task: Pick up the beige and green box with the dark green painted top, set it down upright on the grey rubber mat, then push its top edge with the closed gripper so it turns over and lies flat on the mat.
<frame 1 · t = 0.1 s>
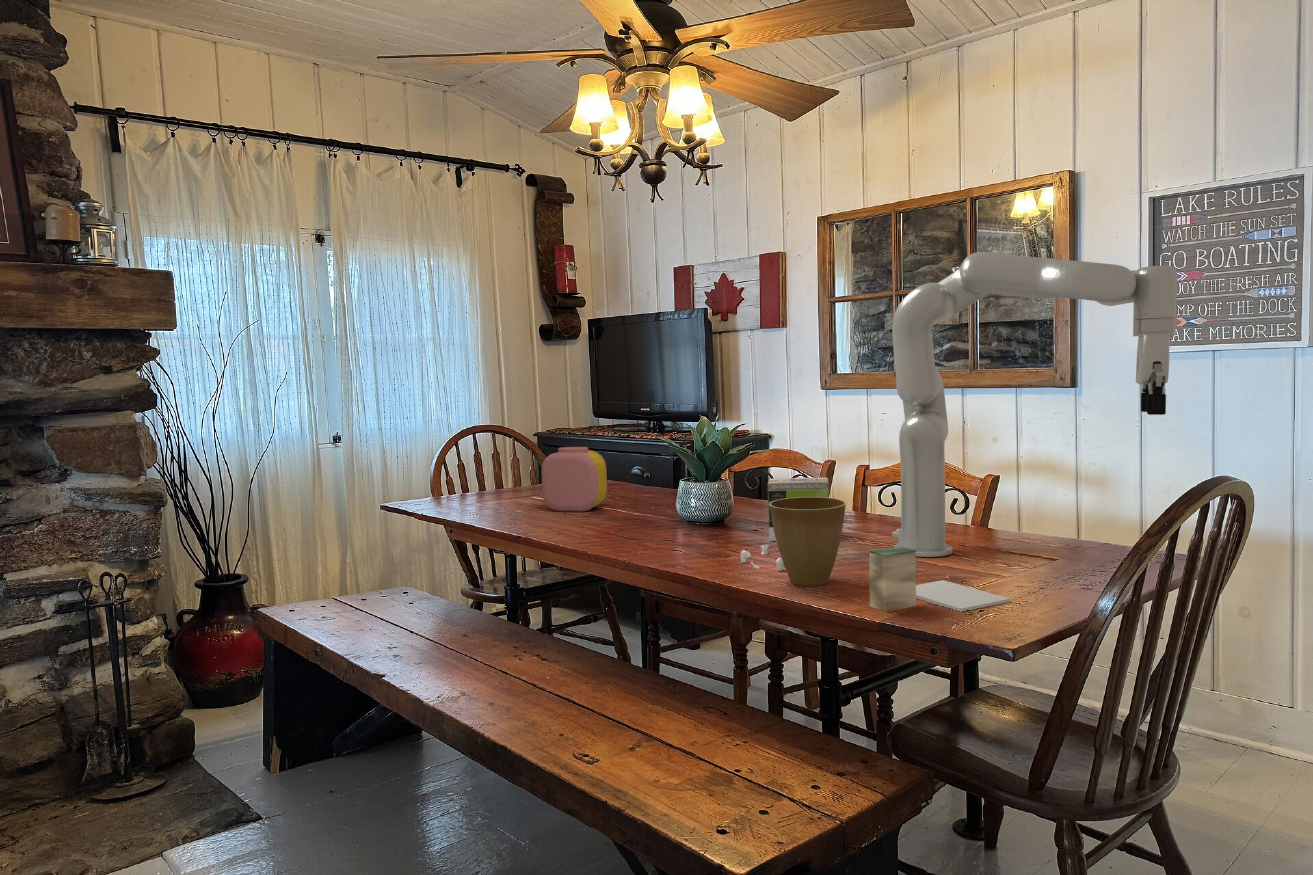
hand: (1152, 413, 176), 31 cm above the table, tool pointing down, fingers open, 9 cm apart
game piece set: (784, 563, 191), on the table
beige and green box: (892, 606, 153), on the table
rubber mat: (951, 596, 158), on the table
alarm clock: (575, 510, 270), on the table
plant pot: (808, 582, 172), on the table
tea box: (799, 538, 216), on the table
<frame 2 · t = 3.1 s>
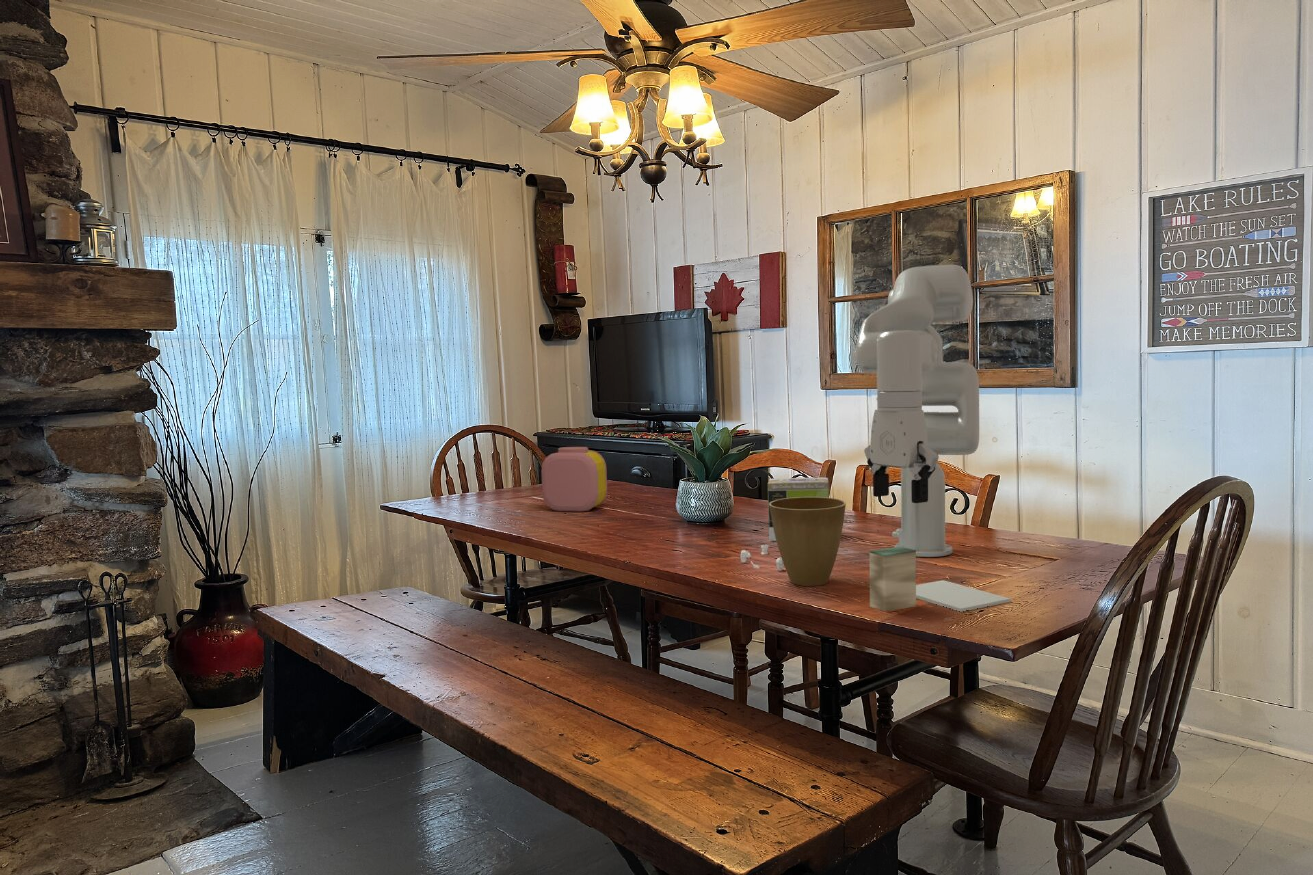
hand: (899, 499, 152), 19 cm above the table, tool pointing down, fingers open, 9 cm apart
nothing on the table moved.
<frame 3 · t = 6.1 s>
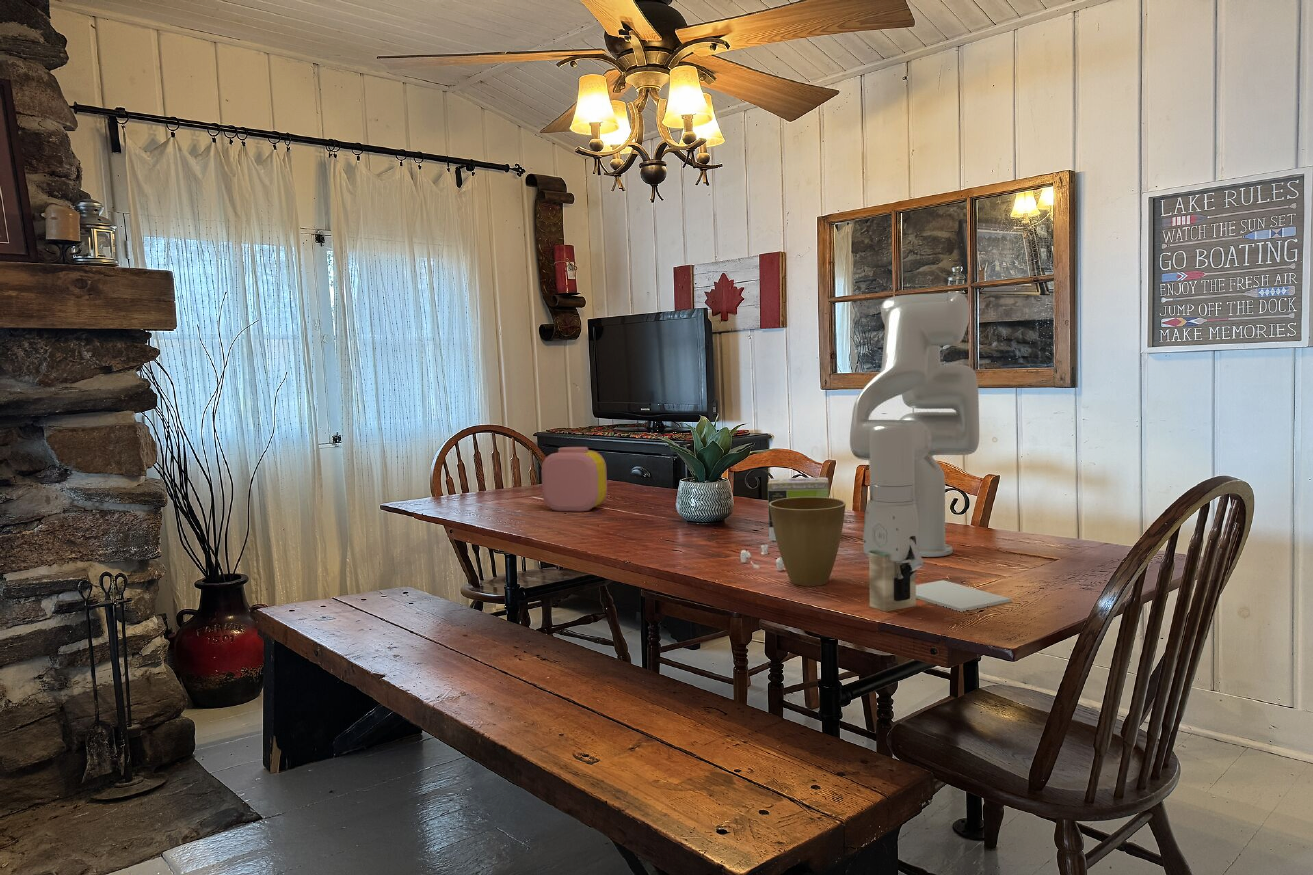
hand: (892, 595, 153), 2 cm above the table, tool pointing down, fingers closed on beige and green box, 4 cm apart
beige and green box: (892, 606, 153), on the table, touching gripper
everything else where it was.
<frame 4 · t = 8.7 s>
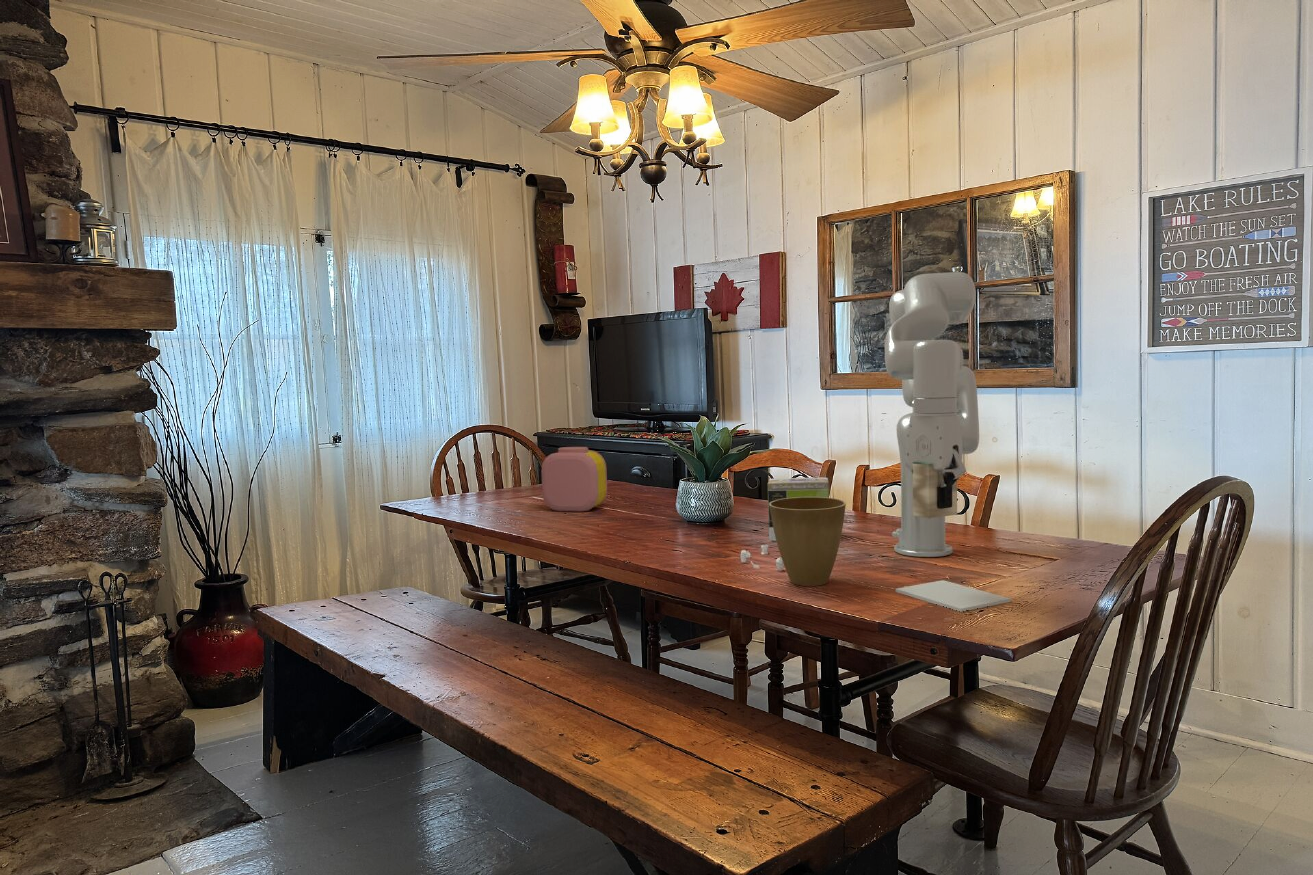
hand: (935, 505, 160), 16 cm above the table, tool pointing down, fingers closed on beige and green box, 4 cm apart
beige and green box: (935, 515, 161), point 15 cm above the table, touching gripper
everything else where it was.
when the fingers open (3 cm above the table, at t = 11.7 s): beige and green box stays where it is, resting on rubber mat.
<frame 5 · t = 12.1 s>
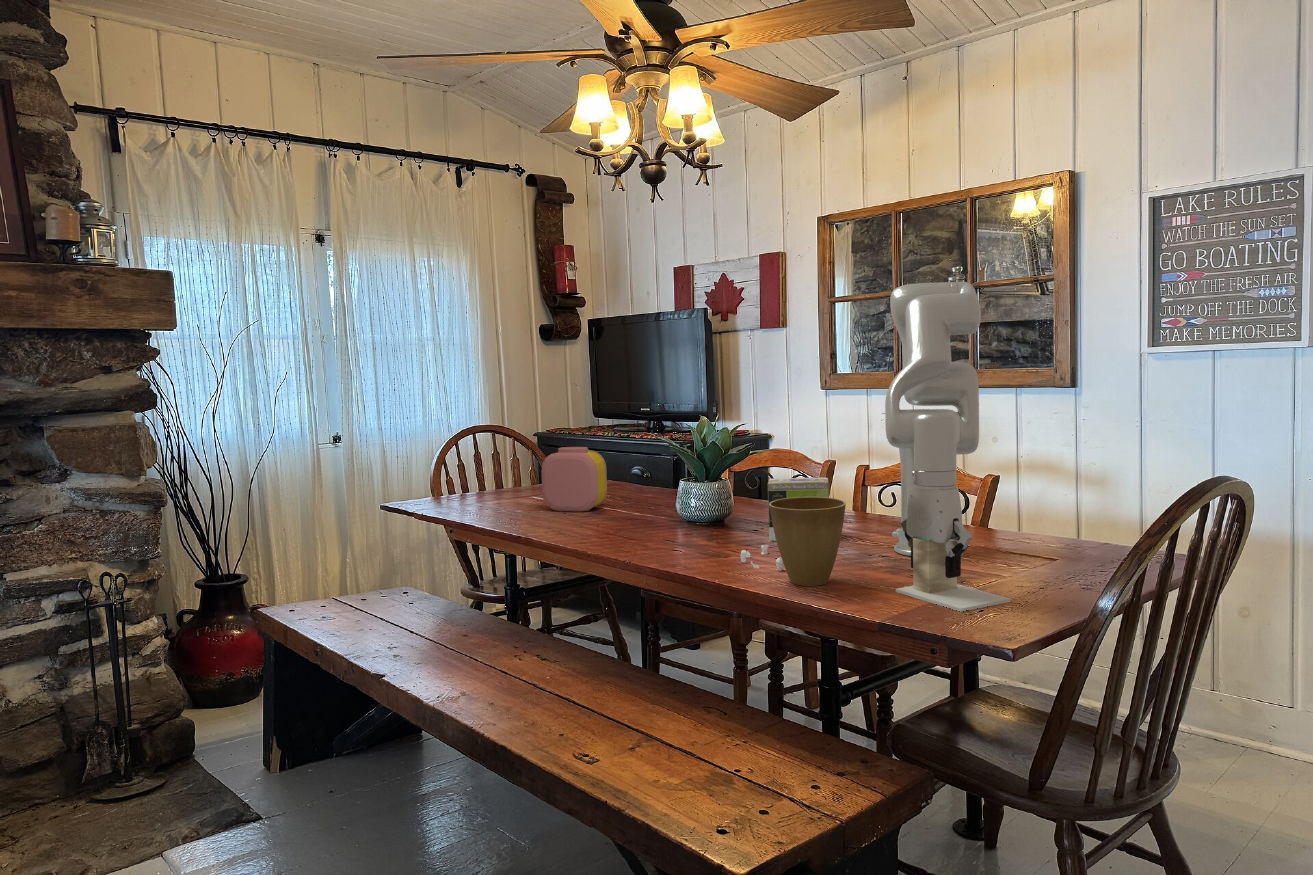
hand: (935, 571, 161), 4 cm above the table, tool pointing down, fingers open, 8 cm apart
beige and green box: (935, 588, 162), point 1 cm above the table, touching rubber mat
everything else where it was.
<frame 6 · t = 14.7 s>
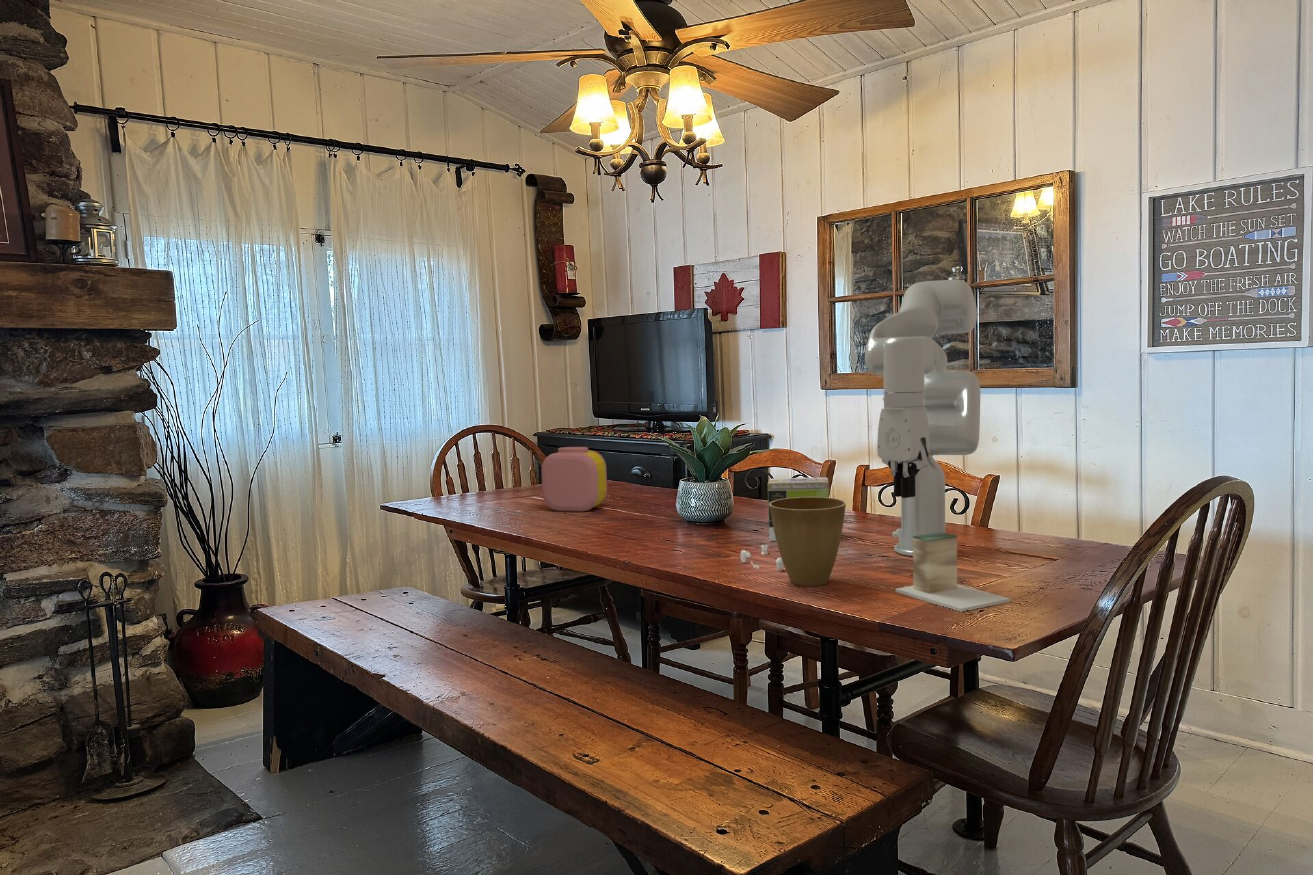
hand: (904, 496, 168), 17 cm above the table, tool pointing down, fingers closed
nothing on the table moved.
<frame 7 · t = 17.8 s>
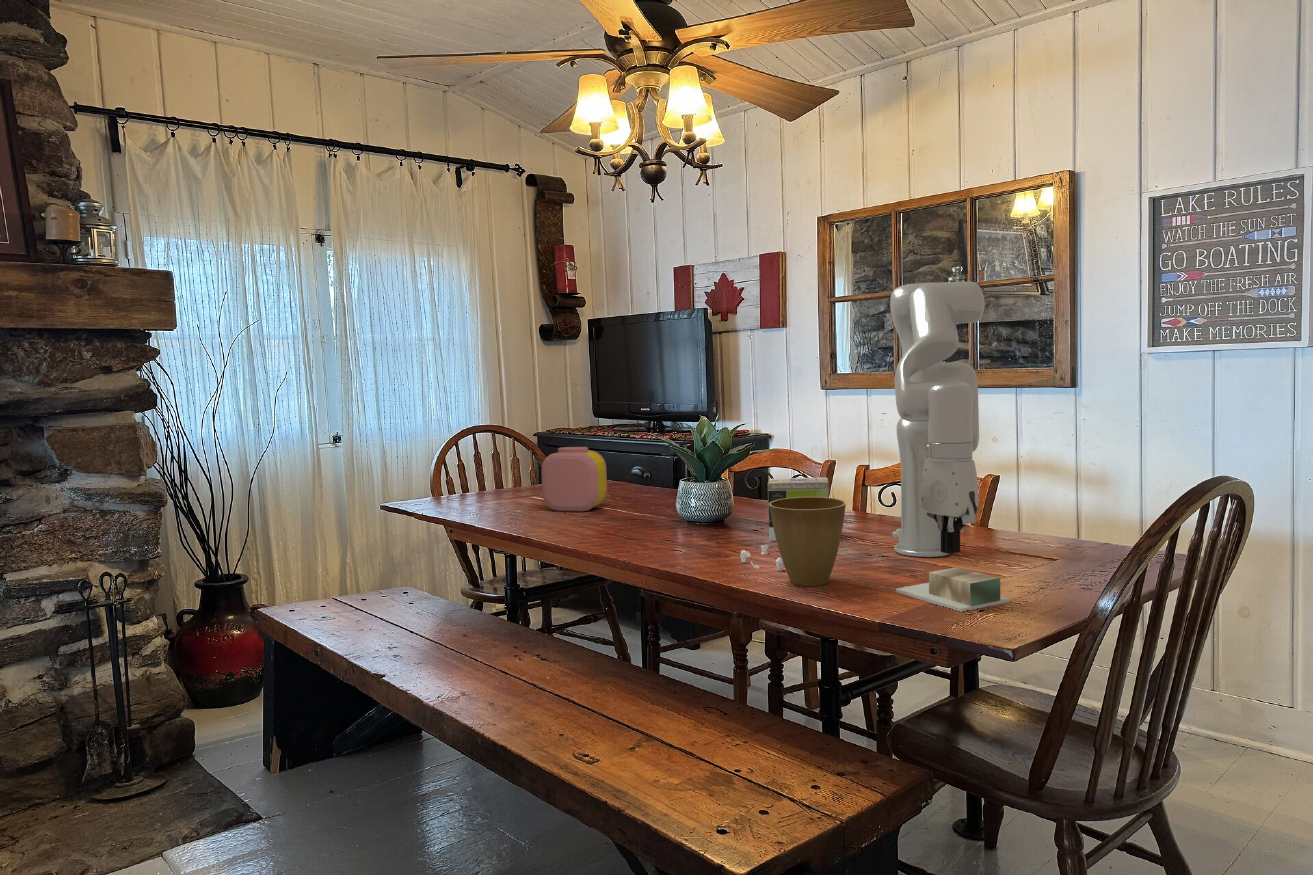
hand: (950, 552, 158), 8 cm above the table, tool pointing down, fingers closed
beige and green box: (943, 580, 160), point 3 cm above the table, tilted 90°, touching rubber mat
everything else where it was.
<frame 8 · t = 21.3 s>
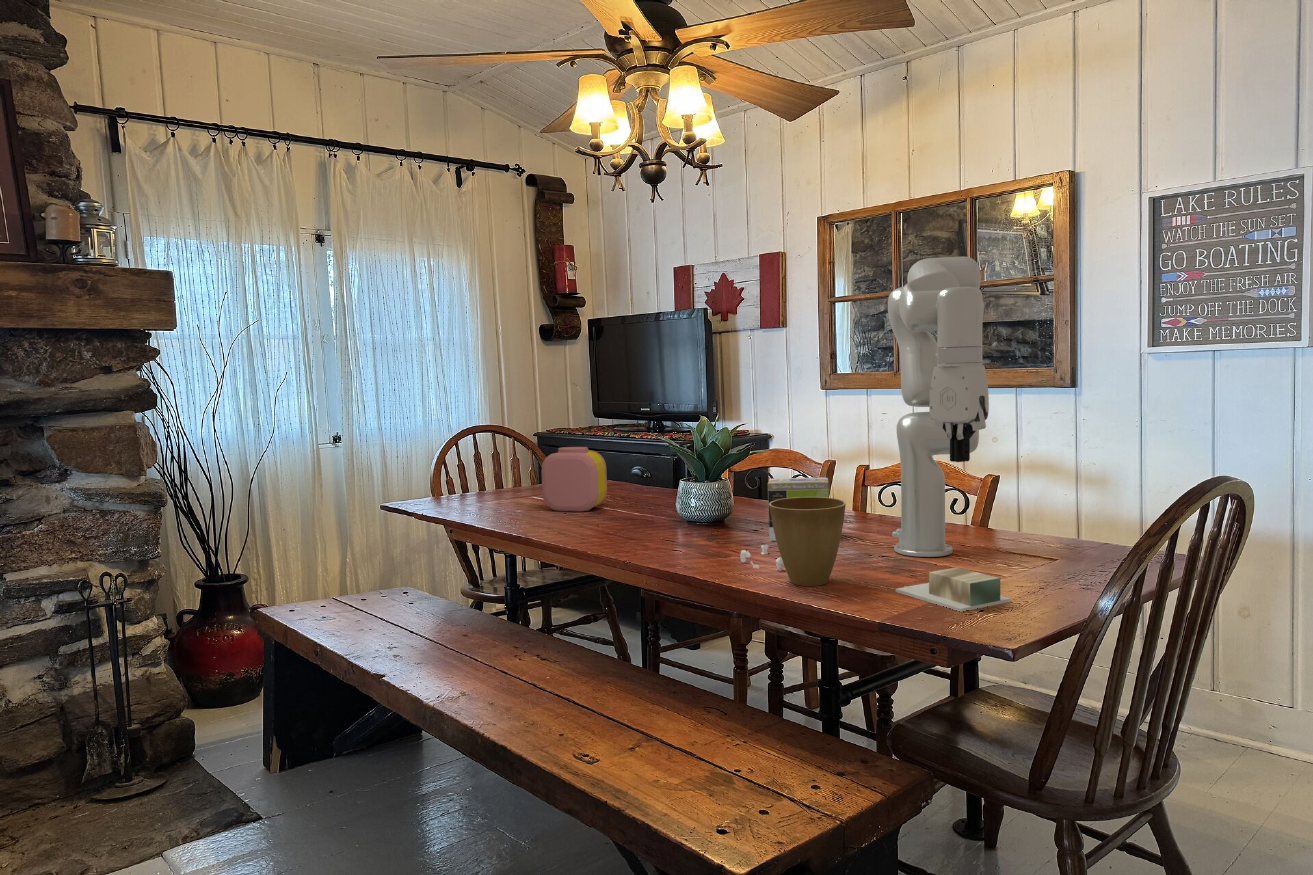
hand: (959, 461, 154), 25 cm above the table, tool pointing down, fingers closed
nothing on the table moved.
at the end: beige and green box tilted 90°; beige and green box inside the target area on the rubber mat (3.0 cm from its centre), point 2.6 cm above the rubber mat's base; the gripper is holding nothing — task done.
